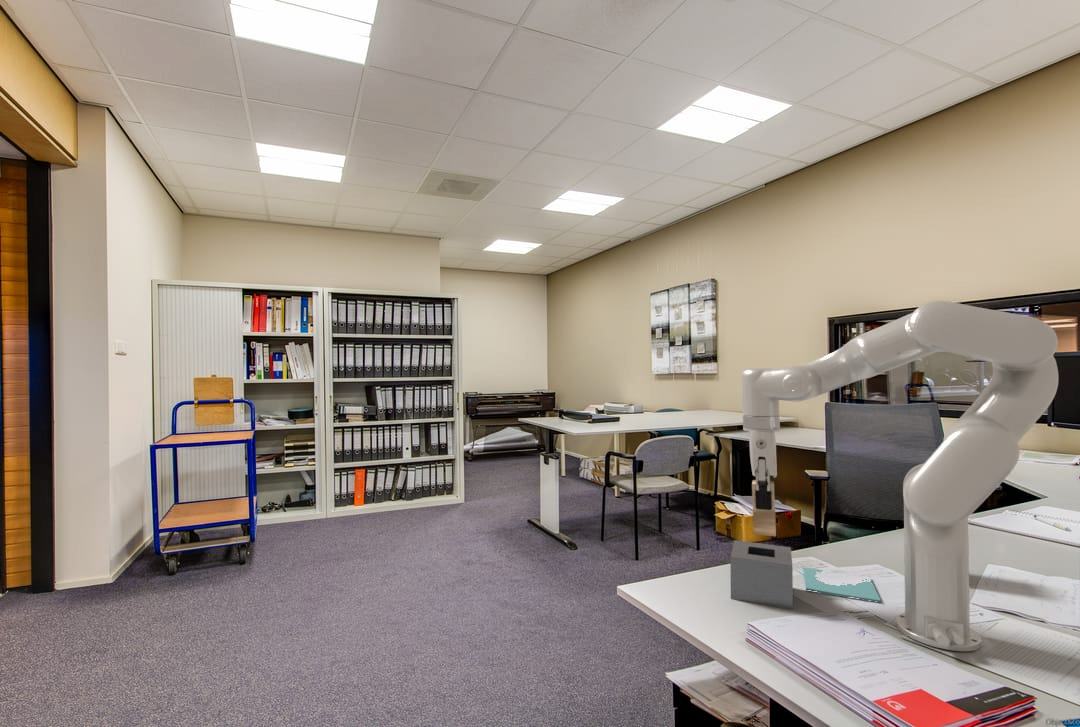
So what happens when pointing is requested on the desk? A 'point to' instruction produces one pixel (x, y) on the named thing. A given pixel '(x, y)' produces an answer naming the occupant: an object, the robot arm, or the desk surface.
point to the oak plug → (764, 515)
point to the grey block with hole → (762, 574)
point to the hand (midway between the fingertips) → (763, 505)
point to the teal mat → (840, 587)
